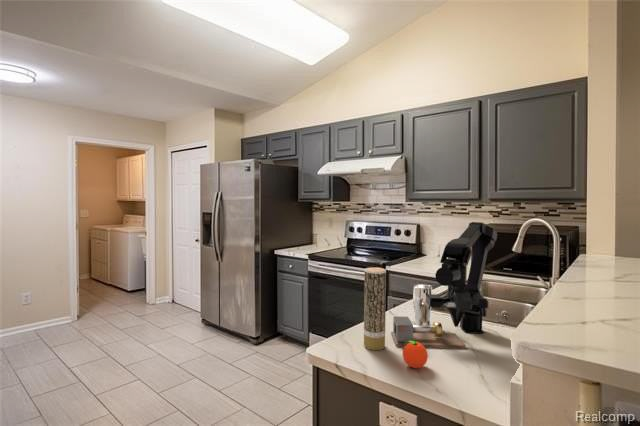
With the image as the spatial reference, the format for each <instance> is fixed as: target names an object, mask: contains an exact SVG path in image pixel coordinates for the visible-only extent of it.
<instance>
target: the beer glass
mask: <svg viewBox="0 0 640 426" xmlns="http://www.w3.org/2000/svg"><path fill="white" fill-rule="evenodd" d="M412 292H413V295H412V296H413V297H412V301H413V309H414V322H413V325H416V326H432V324H431V311H432V307H430V306H429V305H428V304H427V302H426V296H427V295H428V294H433V286H432V285H429V284H425V283H424V284H421V283H418V284H414V285H413V291H412Z"/></svg>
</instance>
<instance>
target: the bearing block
mask: <svg viewBox="0 0 640 426" xmlns="http://www.w3.org/2000/svg"><path fill="white" fill-rule="evenodd" d="M392 317H393V321H392V322H393V323H392V326H393V327H392V328H393V329H392V332H393V334H394V336H395V339H396V341H397V343H405V342H406V343H410V342H407V341H413V325H414V323H413V322H412V321H411V320H410V318H409V316H392Z"/></svg>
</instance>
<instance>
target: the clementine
mask: <svg viewBox="0 0 640 426" xmlns="http://www.w3.org/2000/svg"><path fill="white" fill-rule="evenodd" d="M407 342H410V343H408V344H407V345H406V346H405V347H403V349H402V357H403V361H404V362H405V364H406V365H407V366H409V367H410V368H413V369H421V368H422V367H424V366H425V365H426V364H427V362H428V358H429V355H428V351H427V348H425V347H424V346H423V345H422V344H420V343H418V342H414V341H407ZM405 343H406V342H405ZM404 345H405V344H404Z"/></svg>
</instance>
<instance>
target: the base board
mask: <svg viewBox="0 0 640 426" xmlns="http://www.w3.org/2000/svg"><path fill="white" fill-rule="evenodd" d="M390 335H391V337H392V340H393V342H394V344H395V347H396V348H404V347H405V346H406V345H407V344H408V343H397V341H396V339H395V336H394V334H393V331H391V332H390ZM413 341H414V342H418V343H420V344H422V345H423V346H424V347H425V349H429V348H432V349H433V348H434V349H462V350H463V349H464V350H465V349H466V348H467V345H466V344H465V343H464V342H463V341H462V339H461V338H460V337H459V336H458V335H457V333H455V332H452V333H451V332H443V334H442V337H434V335H433V333H413ZM404 344H405V345H404Z"/></svg>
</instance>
